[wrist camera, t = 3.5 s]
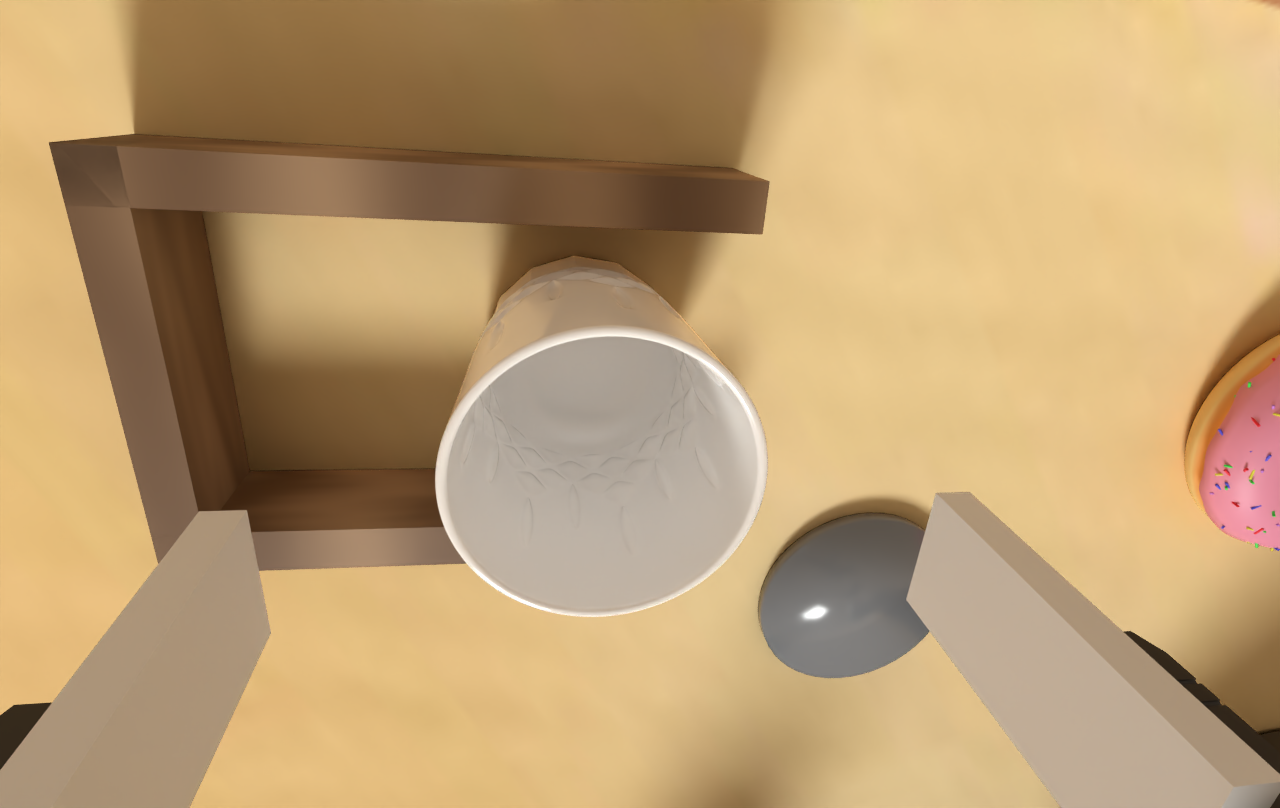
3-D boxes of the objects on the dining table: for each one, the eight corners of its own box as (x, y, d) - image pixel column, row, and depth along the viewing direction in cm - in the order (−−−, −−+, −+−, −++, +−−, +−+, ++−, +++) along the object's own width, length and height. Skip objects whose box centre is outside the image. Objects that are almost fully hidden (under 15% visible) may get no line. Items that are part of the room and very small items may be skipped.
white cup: (718, 381, 27) (815, 527, 18) (541, 475, 27) (547, 664, 18) (624, 195, 23) (683, 260, 14) (424, 308, 24) (361, 437, 15)
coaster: (964, 510, 31) (971, 517, 31) (918, 663, 35) (925, 672, 34) (772, 515, 30) (777, 523, 29) (746, 674, 33) (749, 683, 33)
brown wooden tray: (732, 168, 24) (769, 181, 20) (695, 496, 29) (719, 554, 25) (133, 134, 21) (49, 142, 17) (212, 506, 26) (161, 573, 22)
